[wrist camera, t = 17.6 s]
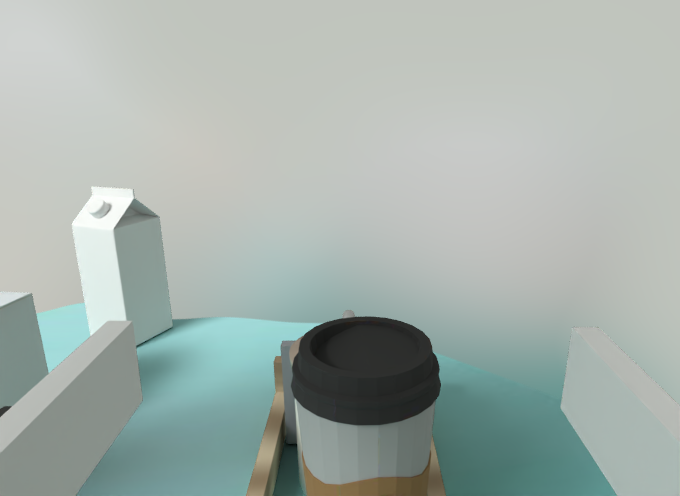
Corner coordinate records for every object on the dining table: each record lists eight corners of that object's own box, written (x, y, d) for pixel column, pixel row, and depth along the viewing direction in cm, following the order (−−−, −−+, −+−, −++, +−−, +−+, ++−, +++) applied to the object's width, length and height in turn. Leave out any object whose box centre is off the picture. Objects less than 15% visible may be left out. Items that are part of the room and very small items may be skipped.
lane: (484, 718, 24) (491, 627, 22) (200, 712, 24) (187, 623, 23) (420, 407, 48) (421, 355, 46) (279, 408, 48) (275, 356, 47)
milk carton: (135, 319, 70) (115, 182, 65) (173, 327, 67) (156, 184, 62) (90, 340, 64) (64, 190, 59) (130, 350, 61) (107, 194, 56)
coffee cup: (303, 634, 28) (290, 391, 23) (298, 515, 36) (287, 317, 31) (452, 614, 28) (464, 376, 24) (414, 502, 36) (419, 308, 32)
